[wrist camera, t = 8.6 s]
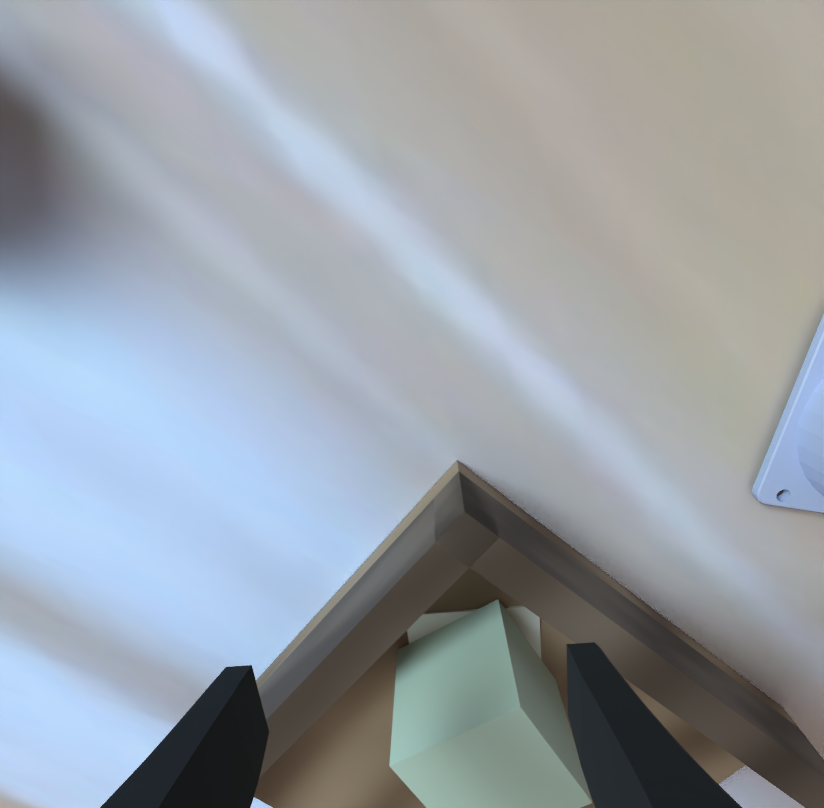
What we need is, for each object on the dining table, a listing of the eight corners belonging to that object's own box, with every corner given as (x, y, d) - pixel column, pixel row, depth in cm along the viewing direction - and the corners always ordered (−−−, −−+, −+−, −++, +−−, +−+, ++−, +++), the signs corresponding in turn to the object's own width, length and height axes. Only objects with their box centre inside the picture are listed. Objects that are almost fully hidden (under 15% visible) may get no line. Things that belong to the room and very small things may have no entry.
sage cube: (555, 679, 21) (592, 803, 17) (457, 723, 22) (466, 853, 18) (498, 598, 20) (520, 706, 16) (397, 649, 21) (389, 765, 16)
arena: (783, 708, 23) (854, 799, 19) (498, 910, 28) (509, 1015, 24) (457, 460, 20) (464, 511, 16) (200, 742, 25) (158, 832, 21)
